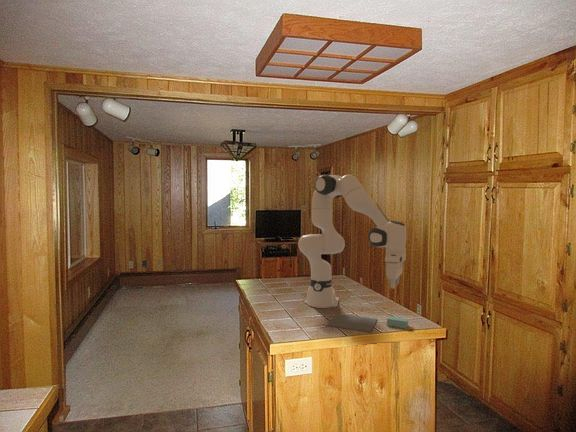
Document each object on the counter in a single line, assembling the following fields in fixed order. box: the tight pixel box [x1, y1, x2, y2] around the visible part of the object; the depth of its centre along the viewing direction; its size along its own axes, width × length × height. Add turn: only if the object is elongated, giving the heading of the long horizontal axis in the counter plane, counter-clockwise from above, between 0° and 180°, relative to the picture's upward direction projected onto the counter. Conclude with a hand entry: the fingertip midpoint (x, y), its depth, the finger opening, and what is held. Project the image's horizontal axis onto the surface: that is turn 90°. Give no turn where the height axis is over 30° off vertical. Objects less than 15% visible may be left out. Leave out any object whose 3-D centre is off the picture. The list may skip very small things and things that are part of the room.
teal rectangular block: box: [386, 315, 409, 329], centre depth 178 cm, size 4×9×4 cm, turn 66°
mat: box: [326, 313, 378, 333], centre depth 181 cm, size 18×20×1 cm
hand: (394, 286), depth 176 cm, fingers open, 8 cm apart
